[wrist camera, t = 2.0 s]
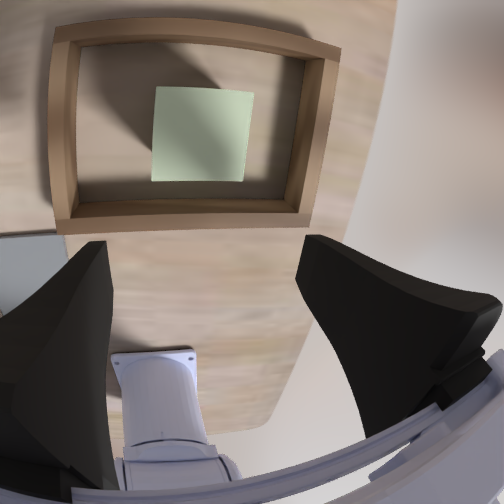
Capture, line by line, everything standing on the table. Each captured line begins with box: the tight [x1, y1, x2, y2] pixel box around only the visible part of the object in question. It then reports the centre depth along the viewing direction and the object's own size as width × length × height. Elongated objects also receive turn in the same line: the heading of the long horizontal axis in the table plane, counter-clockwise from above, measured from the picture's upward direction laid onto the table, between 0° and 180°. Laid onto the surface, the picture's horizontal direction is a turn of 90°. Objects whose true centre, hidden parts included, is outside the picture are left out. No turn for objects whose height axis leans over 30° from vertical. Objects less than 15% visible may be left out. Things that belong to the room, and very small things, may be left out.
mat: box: [0, 232, 69, 316], centre depth 18 cm, size 10×8×1 cm
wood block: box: [151, 87, 254, 181], centre depth 14 cm, size 4×4×6 cm
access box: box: [47, 17, 341, 235], centre depth 15 cm, size 12×16×2 cm
